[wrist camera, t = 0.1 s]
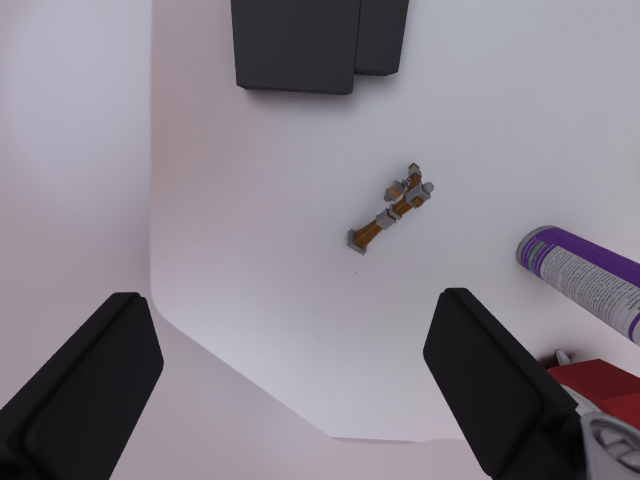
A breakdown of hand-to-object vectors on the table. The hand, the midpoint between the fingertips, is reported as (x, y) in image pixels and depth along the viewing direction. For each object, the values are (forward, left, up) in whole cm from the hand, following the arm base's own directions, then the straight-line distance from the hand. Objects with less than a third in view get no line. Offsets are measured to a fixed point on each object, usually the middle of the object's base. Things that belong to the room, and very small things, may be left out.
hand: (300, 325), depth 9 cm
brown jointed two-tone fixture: (+1, +7, -15) cm, 16 cm away
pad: (-11, +1, -14) cm, 18 cm away
